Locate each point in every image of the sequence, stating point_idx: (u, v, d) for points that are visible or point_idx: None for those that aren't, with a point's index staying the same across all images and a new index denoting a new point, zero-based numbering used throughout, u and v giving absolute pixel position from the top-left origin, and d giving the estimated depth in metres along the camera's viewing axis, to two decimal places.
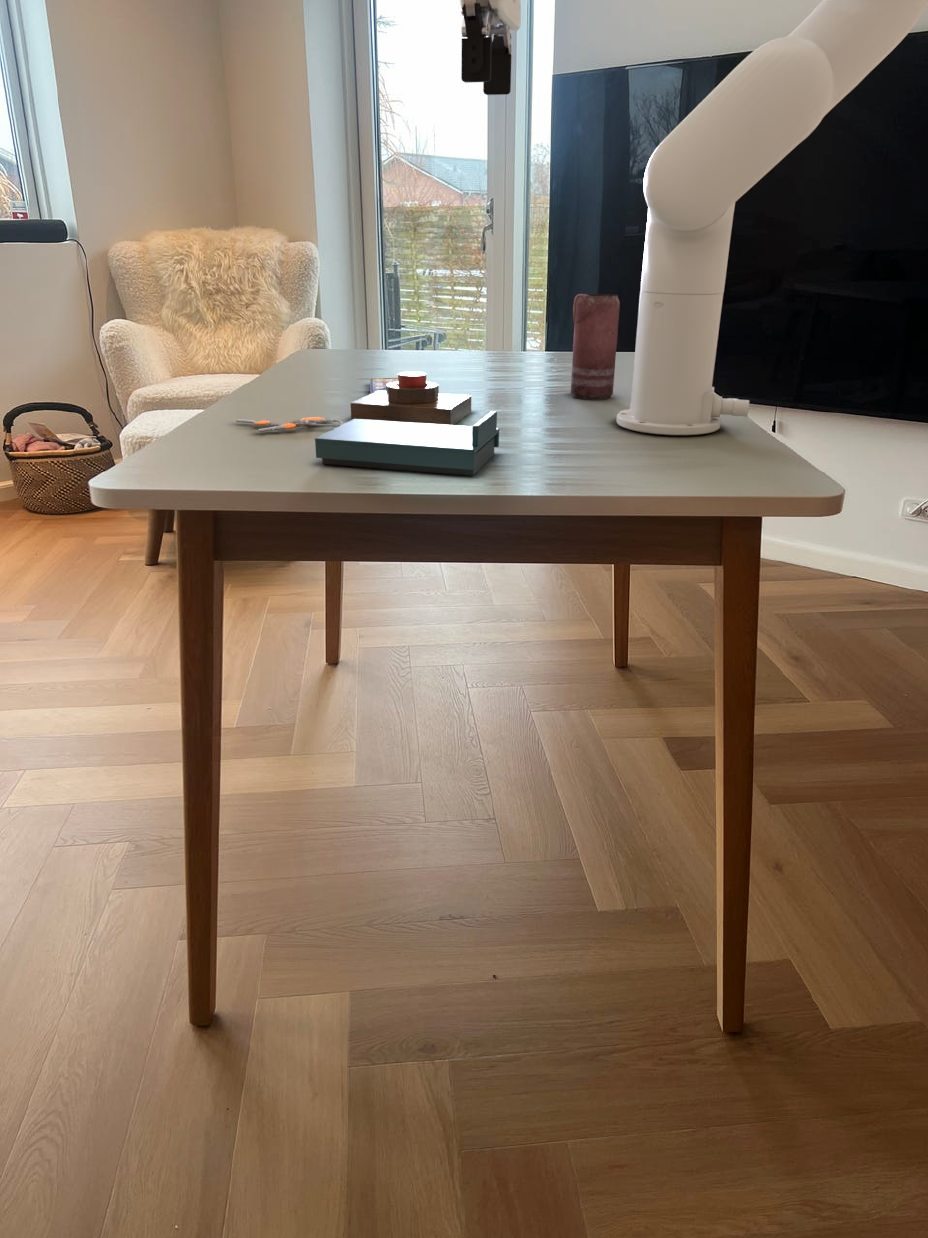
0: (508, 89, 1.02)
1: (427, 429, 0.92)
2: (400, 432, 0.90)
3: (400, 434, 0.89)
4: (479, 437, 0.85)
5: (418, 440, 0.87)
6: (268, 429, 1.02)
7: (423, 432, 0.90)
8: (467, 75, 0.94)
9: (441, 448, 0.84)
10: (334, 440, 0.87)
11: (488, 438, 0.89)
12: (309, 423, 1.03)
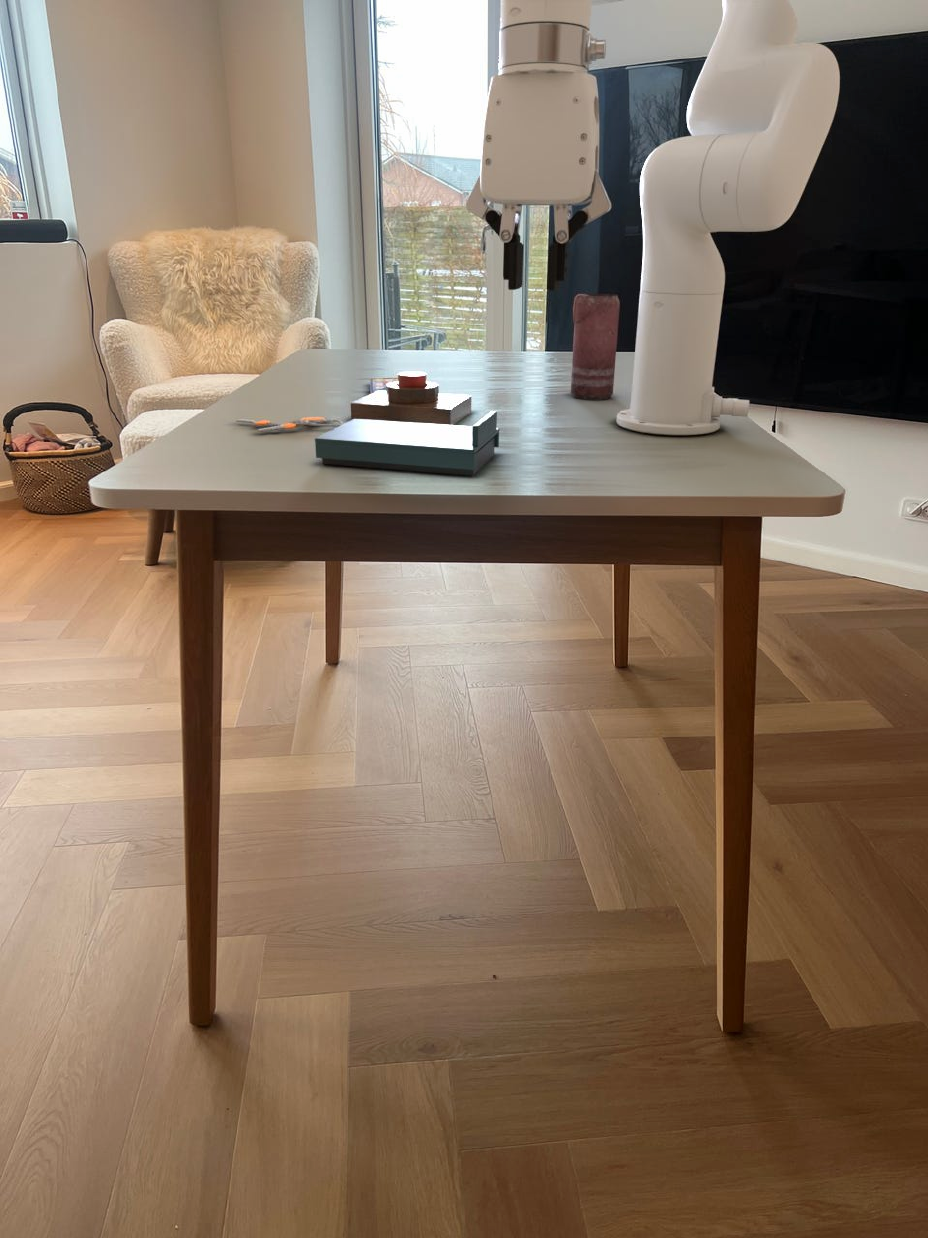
0: None
1: (427, 429, 0.92)
2: (400, 432, 0.90)
3: (400, 434, 0.89)
4: (479, 437, 0.85)
5: (418, 440, 0.87)
6: (268, 429, 1.02)
7: (423, 432, 0.90)
8: (556, 284, 0.80)
9: (441, 448, 0.84)
10: (334, 440, 0.87)
11: (488, 438, 0.89)
12: (309, 423, 1.03)
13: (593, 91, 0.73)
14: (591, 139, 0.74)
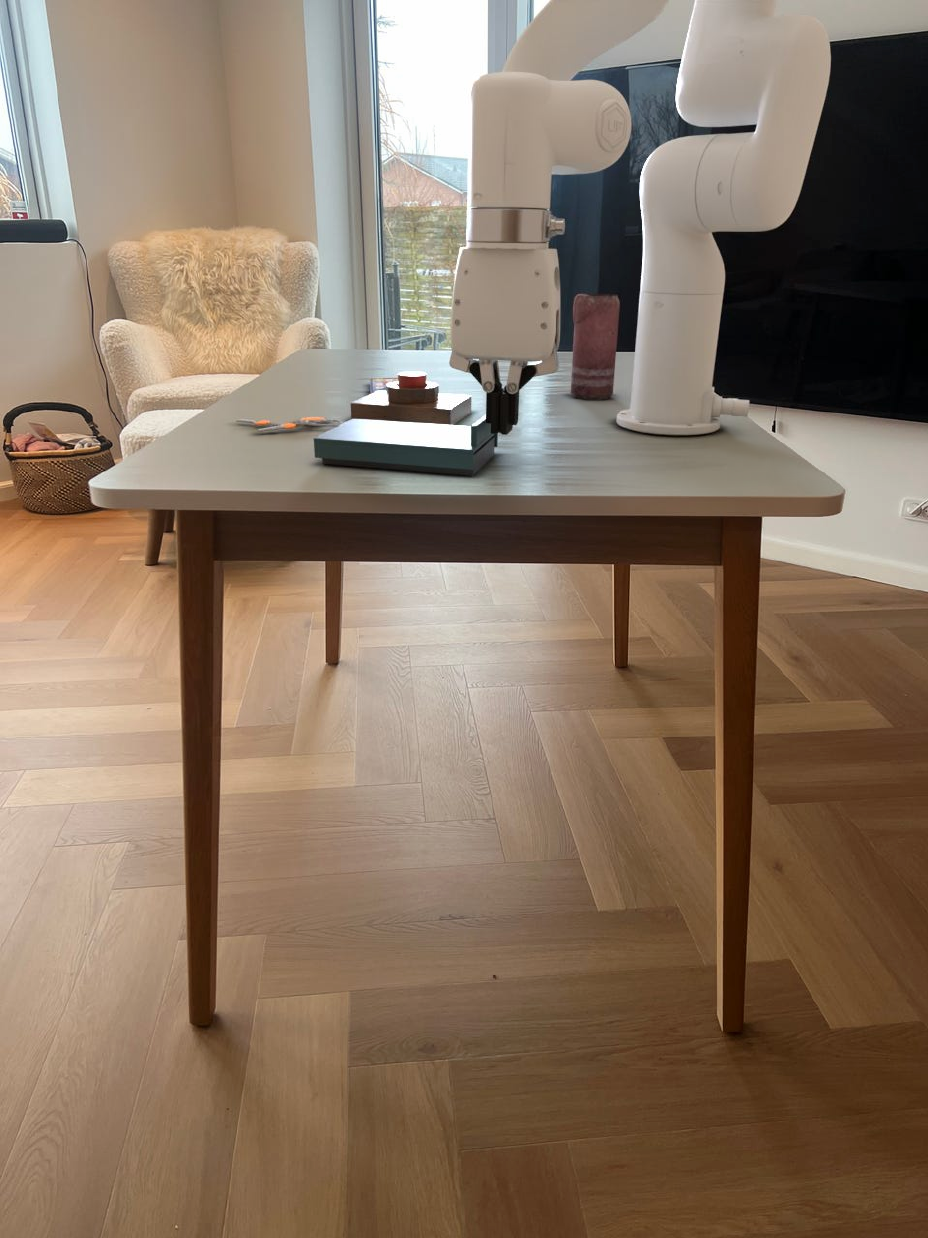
0: None
1: (426, 429, 0.92)
2: (399, 432, 0.90)
3: (399, 434, 0.89)
4: (478, 437, 0.85)
5: (417, 440, 0.87)
6: (268, 429, 1.02)
7: (422, 432, 0.90)
8: (507, 428, 0.86)
9: (440, 448, 0.84)
10: (333, 440, 0.87)
11: (487, 438, 0.89)
12: (309, 423, 1.03)
13: (553, 264, 0.79)
14: (552, 307, 0.80)
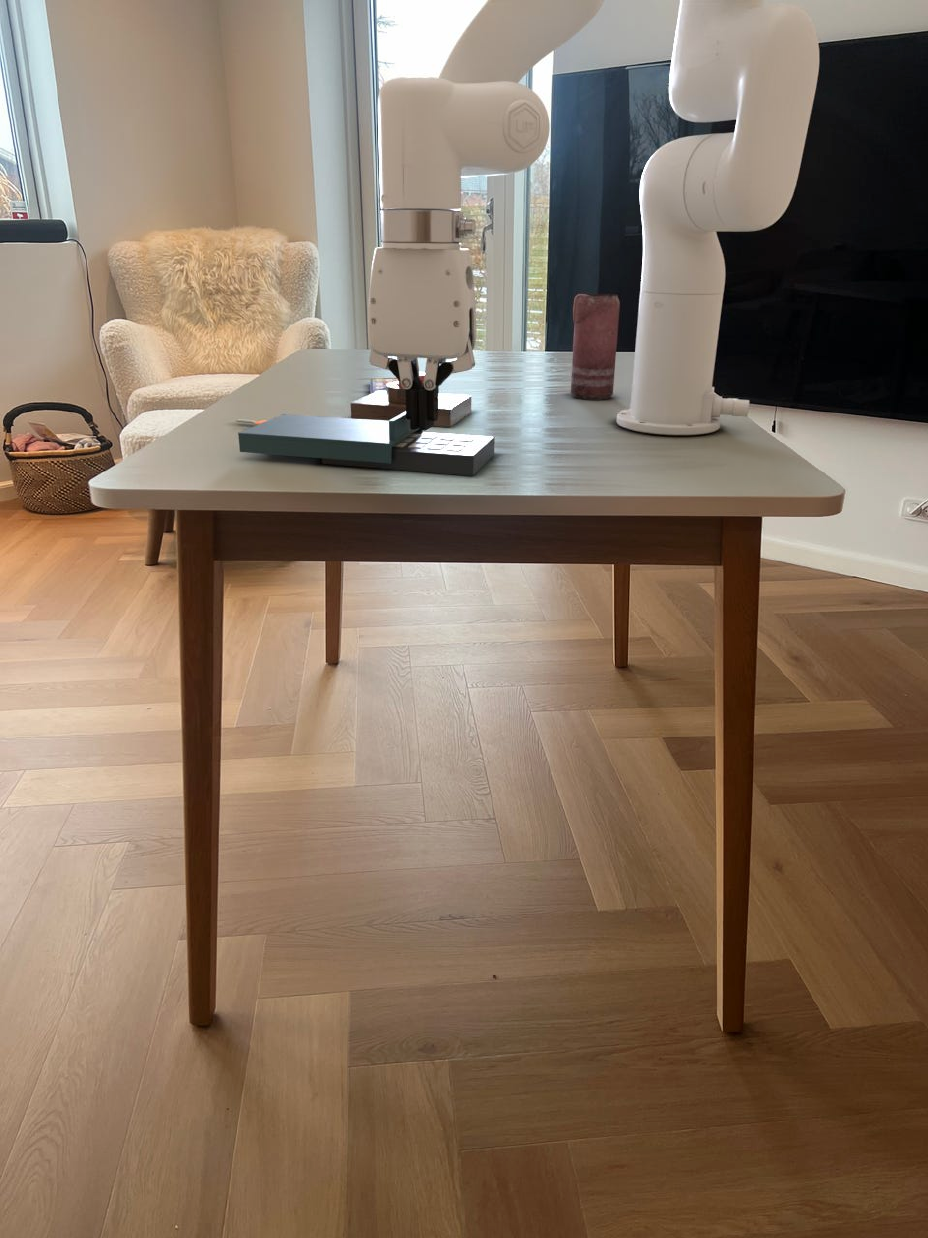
0: None
1: (351, 424, 0.94)
2: (324, 427, 0.92)
3: (323, 429, 0.91)
4: (396, 431, 0.87)
5: (338, 434, 0.89)
6: None
7: (346, 427, 0.92)
8: (427, 424, 0.88)
9: (358, 442, 0.86)
10: (256, 434, 0.89)
11: (408, 433, 0.91)
12: None
13: (464, 263, 0.81)
14: (463, 305, 0.82)
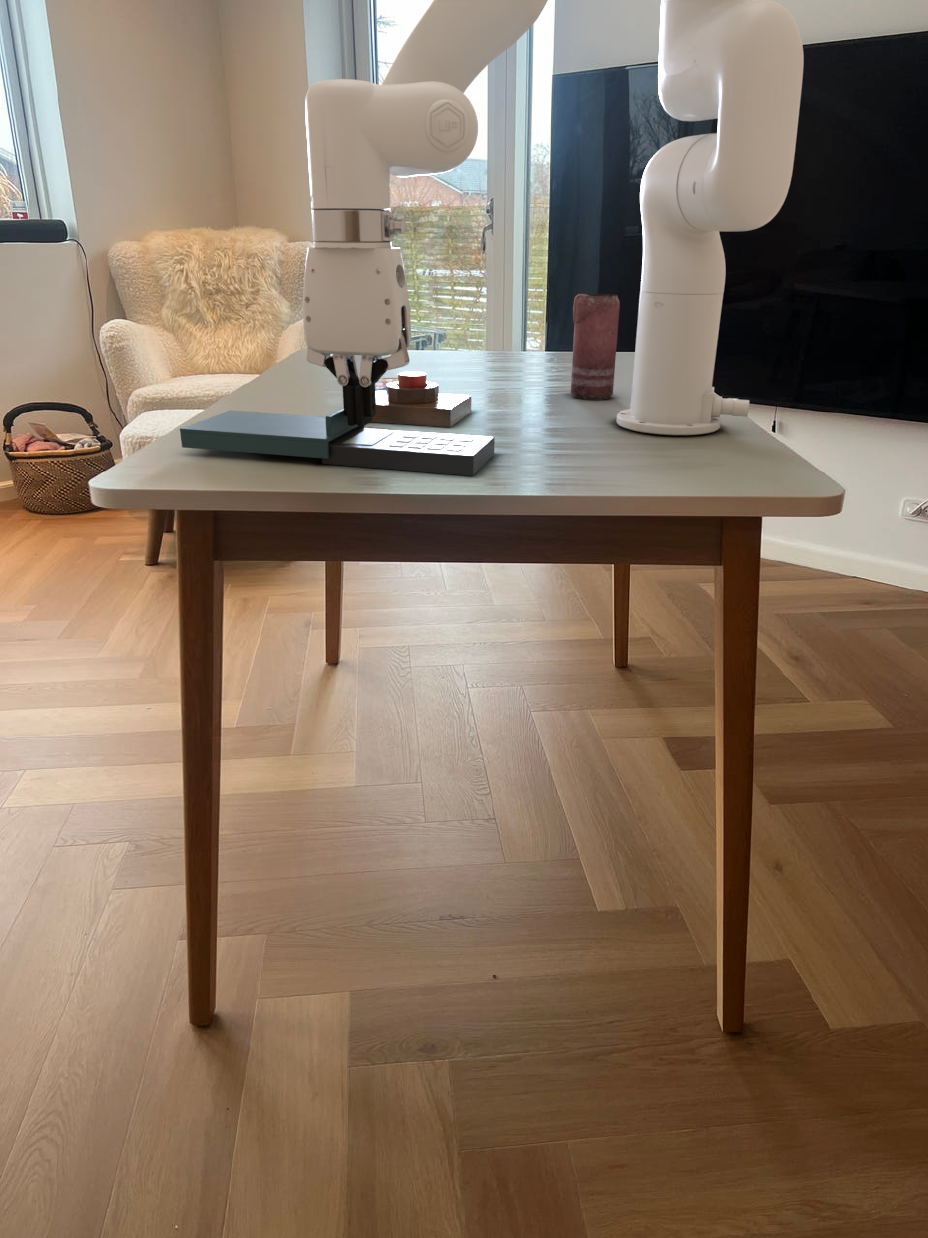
0: None
1: (294, 420, 0.95)
2: (266, 423, 0.94)
3: (264, 425, 0.93)
4: (333, 427, 0.88)
5: (278, 430, 0.91)
6: None
7: (288, 423, 0.94)
8: (364, 420, 0.90)
9: (296, 438, 0.88)
10: (197, 430, 0.91)
11: (348, 428, 0.92)
12: None
13: (395, 262, 0.83)
14: (394, 303, 0.83)
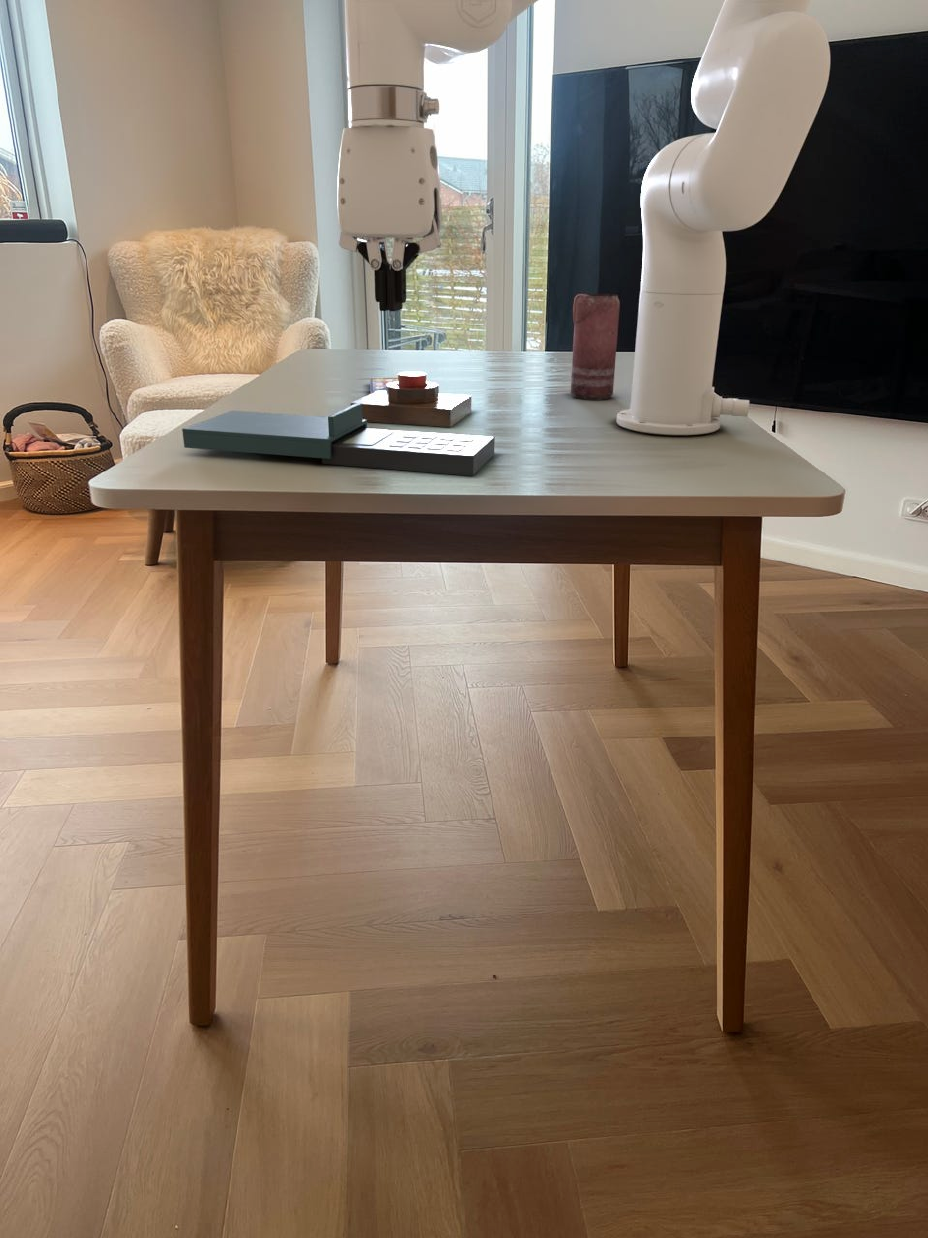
0: None
1: (296, 420, 0.95)
2: (268, 423, 0.94)
3: (267, 425, 0.93)
4: (336, 427, 0.88)
5: (280, 430, 0.90)
6: None
7: (290, 423, 0.94)
8: (395, 305, 0.92)
9: (298, 438, 0.88)
10: (200, 430, 0.91)
11: (350, 429, 0.92)
12: None
13: (429, 142, 0.85)
14: (428, 183, 0.86)
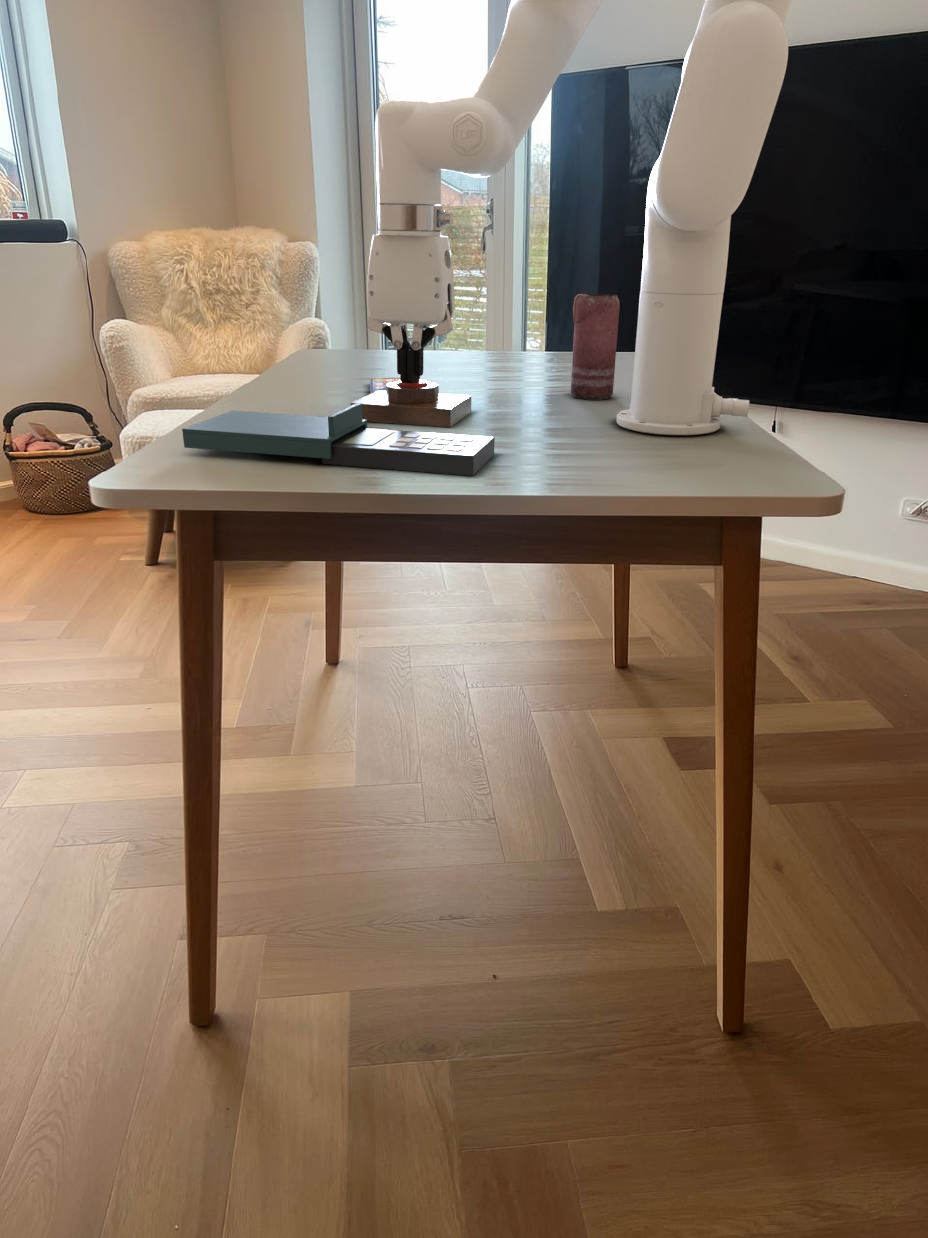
0: None
1: (296, 420, 0.95)
2: (268, 423, 0.94)
3: (267, 425, 0.93)
4: (336, 427, 0.88)
5: (280, 430, 0.90)
6: None
7: (290, 423, 0.94)
8: (414, 378, 1.09)
9: (298, 438, 0.88)
10: (200, 430, 0.91)
11: (350, 429, 0.92)
12: None
13: (443, 247, 1.02)
14: (443, 281, 1.03)
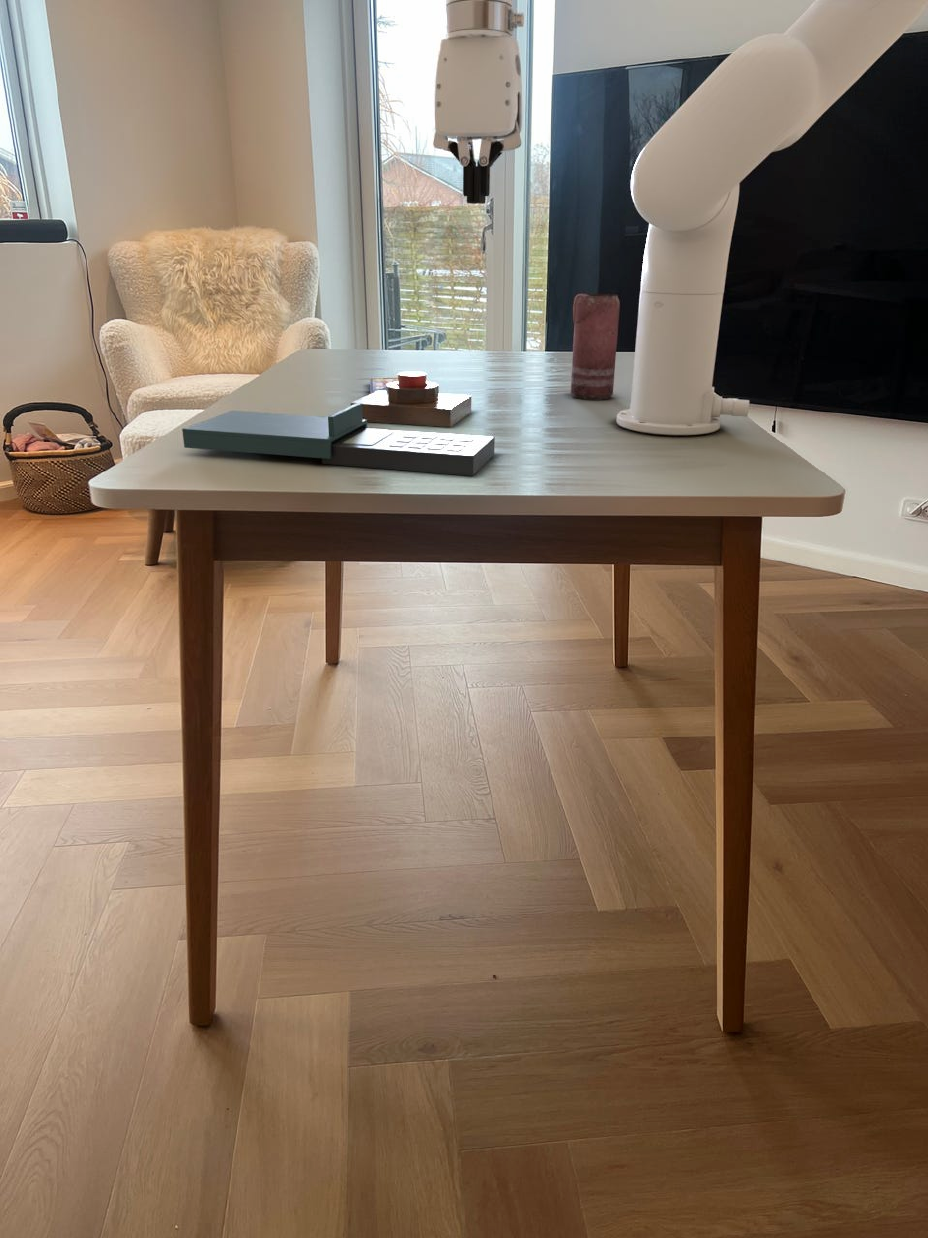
0: None
1: (296, 420, 0.95)
2: (268, 423, 0.94)
3: (267, 425, 0.93)
4: (336, 427, 0.88)
5: (280, 430, 0.90)
6: None
7: (290, 423, 0.94)
8: (480, 197, 1.06)
9: (298, 438, 0.88)
10: (200, 430, 0.91)
11: (350, 429, 0.92)
12: None
13: (514, 50, 1.00)
14: (513, 86, 1.00)
